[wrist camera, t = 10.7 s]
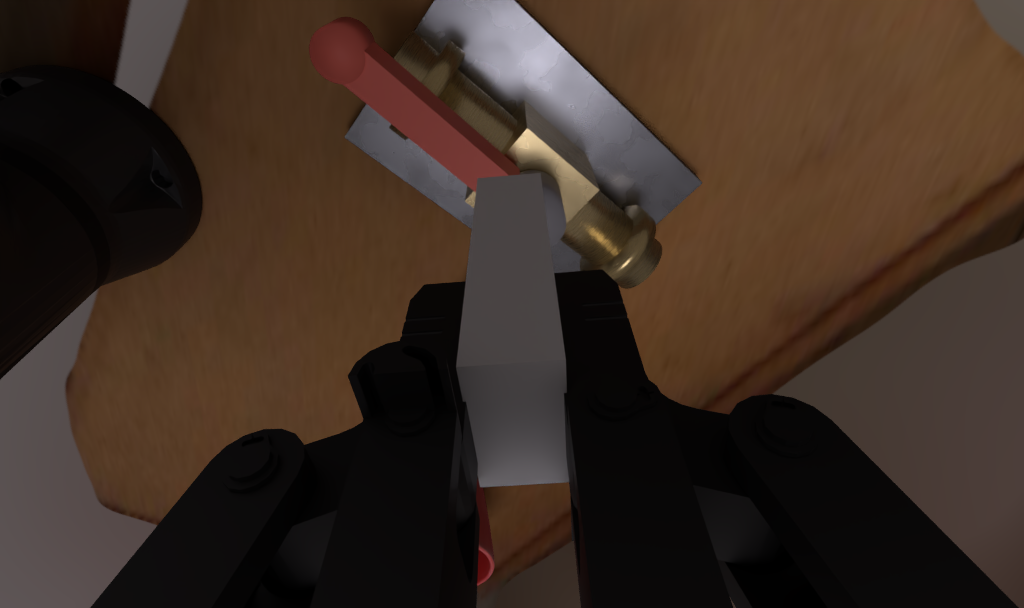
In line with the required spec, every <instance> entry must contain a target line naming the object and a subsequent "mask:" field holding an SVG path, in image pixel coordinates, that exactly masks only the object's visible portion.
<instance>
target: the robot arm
mask: <svg viewBox="0 0 1024 608" xmlns="http://www.w3.org/2000/svg"><path fill="white" fill-rule="evenodd" d="M201 210H202V197H201V189H200V185H199V181H198V178H197V175H196V172H195V169H194V167H193V165H192V163H191V161H190V159H189V157H188V155H187V153H186V152H185V150H184V148H183V147H182V145H181V144H180V142H179V141H178V140H177V138H176V137H175V136H174V134H173V133H172V132H171V131H170V130H169V128H168V127H167V126H166V125H165V124H164V123H163V122H162V121H161V120H160V119H159V118H158V117H157V116H156V115H155V114H154V113H153V112H152V111H151V110H149V109H148V108H147V107H146V106H145V105H143V104H142V103H141V102H139V101H138V100H137V99H135V98H134V97H132V96H131V95H129V94H128V93H127V92H125V91H123V90H122V89H120V88H118V87H116V86H115V85H113V84H111V83H109V82H107V81H105V80H103V79H100V78H98V77H96V76H93V75H91V74H88V73H85V72H82V71H78V70H75V69H70V68H66V67H60V66H51V65H35V66H26V67H21V68H18V69H14V70H11V71H8V72H4V73H1V74H0V379H1V378H2V377H3V376H4V375H5V374H6V373H7V372H9V370H11V369H12V368H13V367H14V366H15V365H16V364H17V363H18V362H19V361H20V360H21V359H22V358H24V357H25V356H26V355H27V354H28V353H29V352H30V351H31V350H32V349H33V348H34V347H35V346H36V345H37V344H39V342H40V341H42V340H43V339H44V338H45V337H46V336H47V335H48V334H49V333H50V332H51V331H52V330H53V329H55V327H57V326H58V325H59V324H60V323H61V322H62V321H63V320H64V319H65V318H66V317H67V316H68V315H70V313H72V312H73V311H74V310H75V309H76V308H77V307H78V306H79V305H80V304H81V303H82V302H83V301H85V300H86V299H87V298H88V297H89V296H90V295H91V294H92V293H93V292H94V291H96V290H97V289H98V288H99V287H100V286H102V285H105V284H108V283H111V282H114V281H116V280H119V279H122V278H125V277H128V276H130V275H133V274H136V273H139V272H142V271H144V270H147V269H150V268H152V267H155V266H157V265H159V264H161V263H163V262H164V261H166V260H167V259H169V258H170V257H171V256H173V255H174V254H175V253H176V252H177V251H178V250H179V249H180V248H181V247H182V246H183V245H184V244H185V243H186V242H187V241H188V240H189V239H190V238H191V236H192V235H193V233H194V232H195V230H196V228H197V226H198V223H199V220H200V216H201ZM348 378H349V381H350V383H351V386H352V389H353V391H354V394H355V397H356V399H357V402H358V405H359V408H360V410H361V413H362V416H363V418H364V419H363V422H362V423H360V424H358V425H357V426H355V427H354V428H352V429H349V430H347V431H344V432H342V433H340V434H337V435H334V436H331V437H327V438H324V439H321V440H318V441H315V442H312V443H309V444H306V445H304V444H303V443H302V441H301V440H300V439H299V438H298V436H297V435H296V434H295V433H292V432H289V431H286V430H284V429H264V430H260V431H257V432H254V433H251V434H248V435H245V436H243V437H241V438H239V439H238V440H236V441H234V442H233V443H231V444H229V445H228V446H226V447H225V448H224V449H223V450H222V451H221V452H220V453H219V454H217V455H216V456H215V457H214V458H213V459H212V460H211V461H210V462H209V464H208V465H207V466H206V467H205V468H204V470H203V471H202V472H201V473H200V475H199V476H198V477H197V478H196V479H195V481H194V482H193V483H192V484H191V486H190V487H189V488H188V489H187V490H186V492H185V493H184V494H183V495H182V496H181V498H180V499H179V500H178V501H177V503H176V504H175V505H174V506H173V507H172V509H171V510H170V511H169V512H168V514H167V515H166V516H165V517H164V518H163V520H162V521H161V522H160V523H159V525H158V526H157V527H156V528H155V530H154V531H153V532H152V533H151V535H150V536H149V537H148V538H147V539H146V540H145V542H144V543H143V544H142V546H141V547H140V548H139V549H138V550H137V551H136V553H135V554H134V555H133V556H132V557H131V559H130V560H129V561H128V562H127V564H126V565H125V566H124V567H123V569H122V570H121V571H120V572H119V573H118V575H117V576H116V577H115V578H114V579H113V581H112V582H111V583H110V584H109V586H108V587H107V588H106V589H105V590H104V592H103V593H102V594H101V595H100V597H99V598H98V599H97V600H96V601H95V603H94V604H93V605H92V606H91V608H476V603H477V579H478V555H479V531H480V517H479V511H478V506H477V501H476V492H477V474H478V479H479V484H480V487H494V486H511V485H528V484H545V483H562V482H569V485H570V494H571V524H572V541H574V545H575V555H576V563H577V574H578V583H579V592H580V601H581V608H733V606H732V603H731V600H732V601H733V603H734V605H735V606H736V608H1018V607H1017V606H1016V605H1015V604H1014V603H1013V602H1012V601H1011V600H1010V599H1009V598H1008V597H1007V596H1006V595H1005V594H1004V593H1003V592H1002V591H1001V590H1000V589H999V588H998V587H997V586H996V585H995V584H994V582H993V581H991V579H990V578H989V577H988V576H986V574H984V572H983V571H982V570H980V568H979V567H977V565H976V564H975V563H973V561H972V560H971V559H970V558H969V557H968V556H967V555H966V554H964V552H963V551H962V550H961V549H959V547H958V546H957V545H956V544H954V542H952V540H951V539H950V538H949V537H948V536H947V535H945V534H944V533H943V532H942V530H941V529H940V528H938V526H937V525H936V524H935V523H934V522H933V521H932V520H931V519H930V518H929V517H928V516H927V515H926V514H924V512H923V511H922V510H921V509H920V508H919V507H918V506H917V505H916V504H915V503H914V502H913V501H912V500H911V499H910V498H909V497H908V496H907V495H906V494H905V493H904V492H903V491H902V490H901V489H900V488H899V487H898V486H897V485H896V484H895V483H894V482H893V481H892V480H891V479H890V478H889V477H888V476H887V475H886V474H885V473H884V472H883V471H882V470H881V469H880V468H879V467H878V466H877V465H876V464H875V463H874V462H873V461H872V460H871V459H870V458H869V457H868V456H867V455H866V454H865V453H864V452H863V451H862V450H861V449H860V448H859V447H858V446H857V445H856V444H855V443H854V442H853V441H852V440H851V439H850V438H849V437H848V436H847V435H846V434H845V433H844V432H843V431H842V430H841V429H840V428H839V427H838V426H837V425H836V424H835V423H834V422H833V421H832V420H831V419H829V418H828V417H827V416H825V415H824V414H823V413H821V412H820V411H819V410H818V409H816V408H815V407H813V406H811V405H809V404H806V403H804V402H802V401H799V400H797V399H794V398H791V397H785V396H779V395H774V394H768V395H758V396H751V397H749V398H747V399H745V400H743V401H741V402H739V403H737V405H736V406H735V408H734V409H733V410H732V412H731V413H730V414H729V415H728V414H722V413H717V412H712V411H706V410H701V409H696V408H692V407H689V406H685V405H682V404H679V403H677V402H675V401H673V400H671V399H669V398H667V397H666V396H664V395H663V394H662V393H661V392H660V391H659V389H658V387H657V386H656V385H655V384H654V383H652V382H651V381H650V380H649V379H648V377H647V375H646V373H645V371H644V368H643V364H642V361H641V358H640V355H639V351H638V348H637V345H636V342H635V338H634V335H633V332H632V329H631V325H630V322H629V319H628V318H627V312H626V309H625V306H624V304H623V300H622V296H621V293H620V290H619V287H618V283H617V282H616V281H614V280H613V279H612V278H611V277H610V276H609V275H608V274H607V273H606V272H605V271H604V270H602V269H600V270H587V271H574V272H561V273H554V269H553V262H552V254H551V247H550V240H549V232H548V225H547V218H546V210H545V203H544V196H543V188H542V181H541V173H534V174H522V175H510V176H498V177H486V178H478V179H477V188H476V196H475V205H474V214H473V223H472V232H471V240H470V249H469V258H468V267H467V275H466V282H453V283H440V284H426V285H424V286H423V287H422V288H421V289H420V290H419V291H418V292H417V294H416V295H415V296H414V297H413V298H412V299H411V300H410V303H409V307H408V311H407V315H406V322H405V323H404V327H403V331H402V337H401V339H400V341H397V342H392V343H387V344H385V345H383V346H380V347H378V348H376V349H374V350H372V351H370V352H368V353H367V354H366V355H365V356H363V357H362V358H361V359H360V360H359V361H357V362H356V363H355V365H354V367H353V368H352V370H351V372H350V373H349V375H348ZM729 596H730V597H729ZM730 598H731V600H730Z"/></svg>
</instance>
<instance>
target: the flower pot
mask: <svg viewBox="0 0 1024 608" xmlns="http://www.w3.org/2000/svg"><path fill="white" fill-rule="evenodd" d="M476 501H477V506H478V511H479V517H480V531H479V555H478V579H477V586H478V585H479V584H481V583H483V582H484V581H486V580H487V579H488V578H489V577H490V576H491V574H492V573H493V570H494V554H493V546H492V539H491V532H490V524H489V518H488V512H487V506H486V501H485V496H484V490H483V487H480V484H479V480H478V479H477V492H476Z"/></svg>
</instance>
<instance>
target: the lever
mask: <svg viewBox="0 0 1024 608" xmlns="http://www.w3.org/2000/svg"><path fill="white" fill-rule="evenodd" d="M309 52H310V58H311V61H312V63H313V65H314V67H315V69H316V70H317V71H318V72H319V74H320V75H322V76H323V77H324V78H325V79H327V80H329V81H331V82H333V83H336V84H343V85H344V86H345V87H346V88H348V89H349V90H350V91H351V92H353V93H354V94H355V95H356V96H358V97H359V98H360V99H361V100H362V101H364V102H365V103H366V104H367V105H369V106H370V107H371V108H372V109H374V110H375V111H376V112H377V113H378V114H380V115H381V116H382V117H383V118H385V119H386V120H387V121H388V122H389V123H391V124H392V125H393V126H394V127H396V128H397V129H398V130H399V131H401V132H402V133H403V134H404V135H405V136H407V137H408V138H409V139H410V140H412V141H413V142H414V143H415V144H417V145H418V146H419V147H420V148H421V149H423V150H424V151H425V152H426V153H428V154H429V155H430V156H431V157H433V158H434V159H435V160H436V161H437V162H439V163H440V164H441V165H442V166H444V167H445V168H446V169H447V170H449V171H450V172H451V173H452V174H453V175H455V176H456V177H457V178H458V179H460V180H461V181H462V182H463V183H465V184H466V185H467V186H468V187H469V188H471V189H472V190H473V191H474V192H476V188H477V179H478V178H486V177H498V176H510V175H522V174H534V173H541V181H542V188H543V196H544V203H545V210H546V218H547V225H548V232H549V240H550V247H553V246H554V245H555V244H557V243H558V242H559V241H560V239H561V238H562V236H563V234H564V232H565V229H566V217H565V212H564V207H563V202H562V197H561V192H560V188H559V186H558V184H557V182H556V181H555V180H554V179H553V178H552V177H551V176H550V175H548V174H547V173H544V172H542V171H537V170H528V171H524V172H521V173H520V169H519V168H518V167H517V166H516V165H515V164H513V163H512V162H511V161H510V160H509V159H508V158H507V157H505V156H504V155H503V154H502V153H501V152H500V151H499V150H497V149H496V148H495V147H494V146H493V145H492V144H491V143H489V142H488V141H487V140H486V139H485V138H484V137H483V136H481V135H480V134H479V133H478V132H477V131H476V130H475V129H473V128H472V127H471V126H470V125H469V124H468V123H467V122H465V121H464V120H463V119H462V118H461V117H460V116H459V115H457V114H456V113H455V112H454V111H453V110H452V109H451V108H449V107H448V106H447V105H446V104H445V103H444V102H443V101H441V100H440V99H439V98H438V97H437V96H436V95H435V94H433V93H432V92H431V91H430V90H429V89H428V88H427V87H425V86H424V85H423V84H422V83H421V82H420V81H419V80H417V79H416V78H415V77H414V76H413V75H412V74H411V73H409V72H408V71H407V70H406V69H405V68H404V67H403V66H401V65H400V64H399V63H398V62H397V61H396V60H395V59H393V58H392V57H391V56H390V55H389V54H388V53H387V52H385V51H384V50H383V49H382V48H381V47H380V46H379V45H377V44H376V43H375V41H374V38H373V36H372V34H371V32H370V30H369V29H368V28H367V27H366V26H365V25H364V24H363V23H362V22H360V21H359V20H357V19H354V18H351V17H341V18H338V19H336V20H334V21H332V22H330V23H328V24H327V25H325V26H323V27H321V28H320V29H318V30H317V31H316V32H315V33H314V34H313V36H312V38H311V41H310V45H309Z"/></svg>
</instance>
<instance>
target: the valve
mask: <svg viewBox="0 0 1024 608" xmlns="http://www.w3.org/2000/svg"><path fill="white" fill-rule="evenodd" d="M393 59H395V60H396V61H397V62H398V63H399V64H400V65H401V66H403V67H404V68H405V69H406V70H407V71H408V72H409V73H411V74H412V75H413V76H414V77H415V78H416V79H417V80H419V81H420V82H421V83H422V84H423V85H424V86H425V87H427V88H428V89H429V90H430V91H431V92H432V93H433V94H435V95H436V96H437V97H438V98H439V99H440V100H441V101H443V102H444V103H445V104H446V105H447V106H448V107H449V108H451V109H452V110H453V111H454V112H455V113H456V114H457V115H459V116H460V117H461V118H462V119H463V120H464V121H465V122H467V123H468V124H469V125H470V126H471V127H472V128H473V129H475V130H476V131H477V132H478V133H479V134H480V135H481V136H483V137H484V138H485V139H486V140H487V141H488V142H489V143H491V144H492V145H493V146H494V147H495V148H496V149H497V150H499V151H500V152H501V153H502V154H503V155H504V156H505V157H507V158H508V159H509V160H510V161H511V162H512V163H513V164H515V165H516V166H517V167H518V168H519V169H520V173H521V172H524V171H528V170H537V171H542V172H544V173H547V174H548V175H550V176H551V177H552V178H553V179H554V180H555V181H556V182H557V184H558V186H559V188H560V192H561V197H562V202H563V207H564V212H565V217H566V229H565V232H564V234H563V236H562V238H561V239H560V241H559V242H558V243H557V244H555V245H554V246H553V247H551V254H552V262H553V269H554V273H561V272H574V271H587V270H600V269H602V270H604V271H605V272H606V273H607V274H608V275H609V276H610V277H611V278H612V279H613V280H614V281H616V282H617V283H618V285H619V286H620V287H621V288H625V289H628V288H632V287H635V286H637V285H639V284H640V283H642V282H643V281H644V280H645V279H647V278H648V277H649V276H650V275H651V273H652V272H653V271H654V270H655V268H656V267H657V265H658V263H659V261H660V258H661V255H662V246H661V244H660V242H659V241H657V240H656V239H655V238H654V237H655V233H656V224H657V223H658V222H660V221H661V220H662V219H663V218H664V217H665V216H666V215H667V214H668V213H670V212H671V211H672V210H673V209H674V208H675V207H676V206H677V205H678V204H680V203H681V202H682V201H683V200H684V199H685V198H686V197H687V196H688V195H690V194H691V193H692V192H693V191H694V190H695V189H696V188H697V187H698V186H700V185H701V184H702V182H701V181H700V179H699V178H698V177H697V175H696V174H695V173H694V172H693V171H692V170H691V169H689V168H688V167H687V166H686V165H685V164H684V163H683V162H682V161H681V160H680V159H679V158H678V157H677V156H676V155H675V154H674V153H673V152H672V151H671V150H670V149H669V148H668V147H667V146H666V145H665V144H664V143H663V142H662V141H661V140H660V139H659V138H658V137H657V136H656V135H655V134H654V133H652V132H651V131H650V130H649V129H648V128H647V127H646V126H645V125H644V124H643V123H642V122H641V121H640V120H639V119H638V118H637V117H636V116H635V115H634V114H633V113H632V112H631V111H630V110H629V109H628V108H627V107H626V106H625V105H624V104H623V103H622V102H621V101H620V100H619V99H618V98H616V97H615V96H614V95H613V94H612V93H611V92H610V91H609V90H608V89H607V88H606V87H605V86H604V85H603V84H602V83H601V82H600V81H599V80H598V79H597V78H596V77H595V76H594V75H593V74H592V73H591V72H590V71H589V70H588V69H587V68H586V67H585V66H584V65H583V64H582V63H581V62H579V61H578V60H577V59H576V58H575V57H574V56H573V55H572V54H571V53H570V52H569V51H568V50H567V49H566V48H565V47H564V46H563V45H562V44H561V43H560V42H559V41H558V40H557V39H556V38H555V37H554V36H553V35H552V34H551V33H550V32H549V31H548V30H547V29H546V28H545V27H543V26H542V25H541V24H540V23H539V22H538V21H537V20H536V19H535V18H534V17H533V16H532V15H531V14H530V13H529V12H528V11H527V10H526V9H525V8H524V7H523V6H522V5H521V4H520V3H519V2H518V1H517V0H434V2H433V3H432V5H431V7H430V8H429V10H428V11H427V13H426V14H425V16H424V17H423V19H422V20H421V22H420V23H419V25H418V26H417V28H416V29H415V31H413V32H412V33H411V34H410V35H409V37H408V38H407V40H406V41H405V42H404V44H403V45H402V47H401V48H400V50H399V51H398V53H397V54H396V55H395V57H394V58H393ZM345 138H346V139H347V140H349V141H350V142H352V143H353V144H354V145H356V146H357V147H359V148H360V149H361V150H363V151H364V152H365V153H367V154H368V155H370V156H371V157H372V158H374V159H375V160H377V161H378V162H379V163H381V164H382V165H383V166H385V167H386V168H388V169H389V170H390V171H392V172H393V173H395V174H396V175H397V176H399V177H400V178H402V179H403V180H404V181H406V182H407V183H408V184H410V185H411V186H413V187H414V188H415V189H417V190H418V191H420V192H421V193H422V194H424V195H425V196H426V197H428V198H429V199H431V200H432V201H433V202H435V203H436V204H438V205H439V206H440V207H442V208H443V209H444V210H446V211H447V212H449V213H450V214H451V215H453V216H454V217H456V218H457V219H458V220H460V221H461V222H463V223H464V224H465V225H467V226H468V227H469V228H471V229H472V223H473V214H474V205H475V196H476V192H474V191H473V190H472V189H471V188H469V187H468V186H467V185H466V184H465V183H463V182H462V181H461V180H460V179H458V178H457V177H456V176H455V175H453V174H452V173H451V172H450V171H449V170H447V169H446V168H445V167H444V166H442V165H441V164H440V163H439V162H437V161H436V160H435V159H434V158H433V157H431V156H430V155H429V154H428V153H426V152H425V151H424V150H423V149H421V148H420V147H419V146H418V145H417V144H415V143H414V142H413V141H412V140H410V139H409V138H408V137H407V136H405V135H404V134H403V133H402V132H401V131H399V130H398V129H397V128H396V127H394V126H393V125H392V124H391V123H389V122H388V121H387V120H386V119H385V118H383V117H382V116H381V115H380V114H378V113H377V112H376V111H375V110H374V109H372V108H371V107H370V106H369V105H367V104H366V105H365V107H364V108H363V110H362V111H361V113H360V114H359V116H358V117H357V119H356V121H355V122H354V124H353V125H352V127H351V128H350V130H349V131H348V133H347V134H346V136H345Z"/></svg>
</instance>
